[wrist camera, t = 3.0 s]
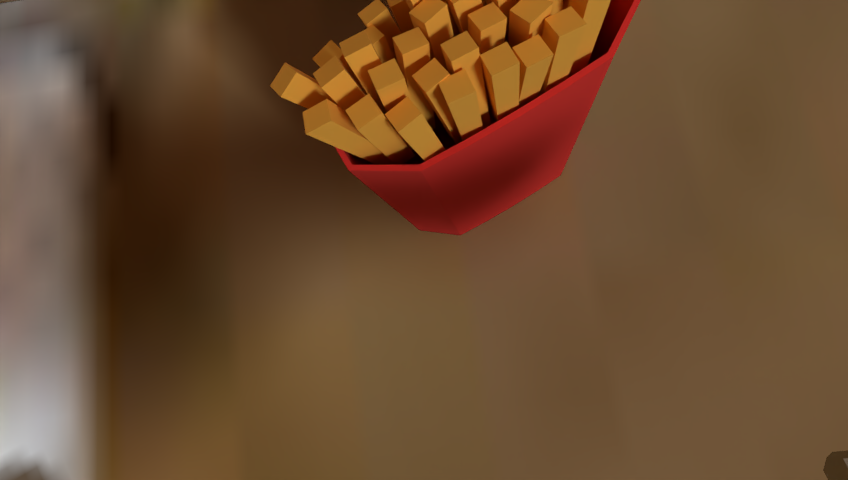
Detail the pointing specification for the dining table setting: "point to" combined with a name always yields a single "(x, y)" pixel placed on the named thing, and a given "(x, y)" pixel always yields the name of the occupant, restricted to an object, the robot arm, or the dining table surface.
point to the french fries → (459, 99)
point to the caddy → (2, 0)
